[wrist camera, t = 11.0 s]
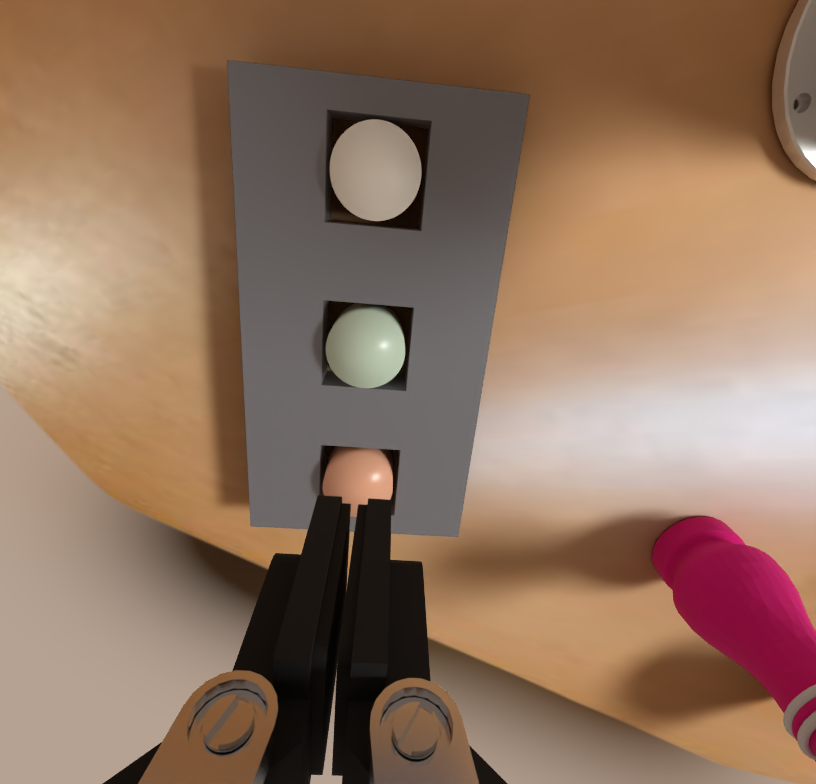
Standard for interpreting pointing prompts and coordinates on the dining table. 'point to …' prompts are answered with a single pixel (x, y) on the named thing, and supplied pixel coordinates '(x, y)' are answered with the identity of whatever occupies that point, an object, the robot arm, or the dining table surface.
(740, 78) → the dining table surface
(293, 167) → the button panel
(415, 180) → the cream button
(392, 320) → the sage button
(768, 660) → the pepper mill
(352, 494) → the terracotta button
